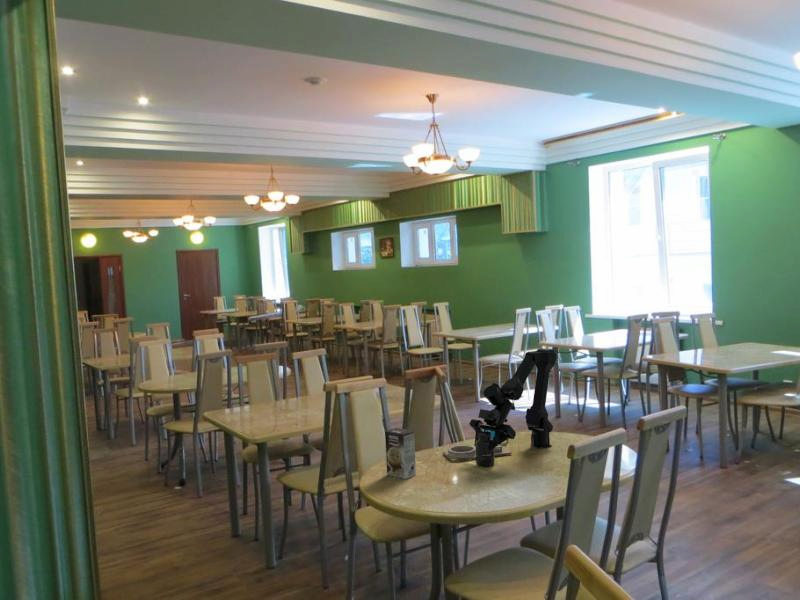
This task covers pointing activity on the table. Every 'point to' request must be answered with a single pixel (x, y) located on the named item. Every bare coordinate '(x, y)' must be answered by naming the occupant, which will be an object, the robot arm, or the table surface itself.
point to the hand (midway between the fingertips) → (482, 448)
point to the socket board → (505, 452)
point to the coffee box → (400, 453)
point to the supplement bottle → (484, 450)
